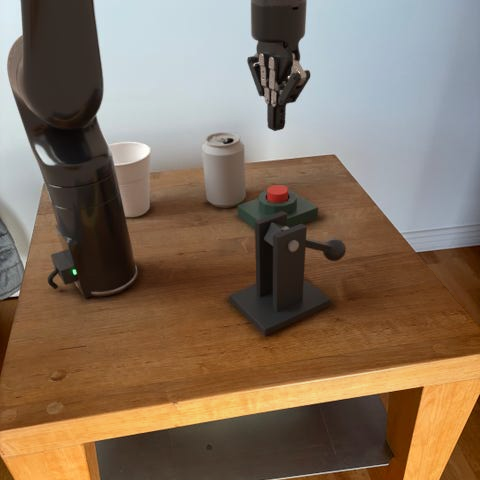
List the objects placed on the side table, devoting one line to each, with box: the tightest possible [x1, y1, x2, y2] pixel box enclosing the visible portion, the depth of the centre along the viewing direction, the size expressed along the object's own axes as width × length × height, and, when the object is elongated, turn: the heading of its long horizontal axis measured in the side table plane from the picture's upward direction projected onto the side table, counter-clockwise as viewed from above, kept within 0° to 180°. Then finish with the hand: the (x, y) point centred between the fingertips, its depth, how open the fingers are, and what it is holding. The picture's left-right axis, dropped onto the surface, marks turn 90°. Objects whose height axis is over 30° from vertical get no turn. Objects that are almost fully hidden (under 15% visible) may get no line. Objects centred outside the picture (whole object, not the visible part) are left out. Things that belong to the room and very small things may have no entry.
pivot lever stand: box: [228, 211, 331, 337], centre depth 66 cm, size 11×9×13 cm
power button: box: [267, 184, 289, 203], centre depth 86 cm, size 4×4×2 cm
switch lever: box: [264, 222, 347, 262], centre depth 67 cm, size 14×3×3 cm, turn 122°
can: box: [201, 131, 247, 209], centre depth 91 cm, size 8×8×12 cm
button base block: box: [237, 188, 319, 230], centre depth 88 cm, size 11×9×4 cm
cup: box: [109, 141, 152, 218], centre depth 89 cm, size 10×10×11 cm
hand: (276, 128), depth 78 cm, fingers closed
